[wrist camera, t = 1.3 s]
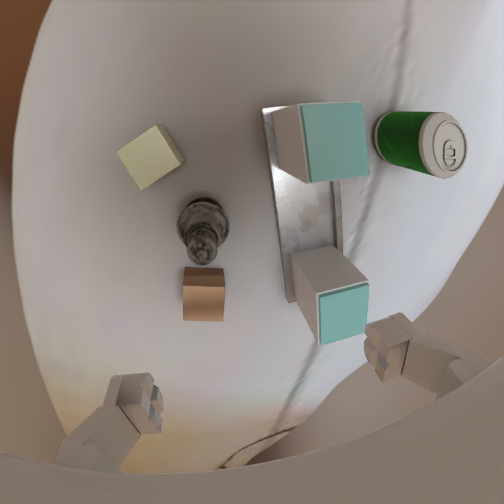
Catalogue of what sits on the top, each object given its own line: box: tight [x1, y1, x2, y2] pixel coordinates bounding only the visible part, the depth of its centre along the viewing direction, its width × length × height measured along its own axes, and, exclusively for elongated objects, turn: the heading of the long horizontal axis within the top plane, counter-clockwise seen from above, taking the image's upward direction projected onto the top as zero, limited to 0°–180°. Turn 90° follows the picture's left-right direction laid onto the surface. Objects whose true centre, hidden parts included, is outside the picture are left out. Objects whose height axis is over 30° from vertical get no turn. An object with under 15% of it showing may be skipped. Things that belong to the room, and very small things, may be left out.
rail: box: [261, 106, 343, 303], centre depth 36 cm, size 26×8×2 cm, turn 9°
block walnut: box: [183, 267, 225, 321], centre depth 37 cm, size 5×5×5 cm
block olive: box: [116, 125, 184, 191], centre depth 29 cm, size 5×5×5 cm
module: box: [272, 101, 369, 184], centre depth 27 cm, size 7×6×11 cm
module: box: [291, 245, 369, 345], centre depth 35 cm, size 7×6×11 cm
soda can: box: [374, 112, 468, 179], centre depth 29 cm, size 8×8×12 cm
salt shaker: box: [177, 198, 229, 265], centre depth 30 cm, size 6×6×12 cm
